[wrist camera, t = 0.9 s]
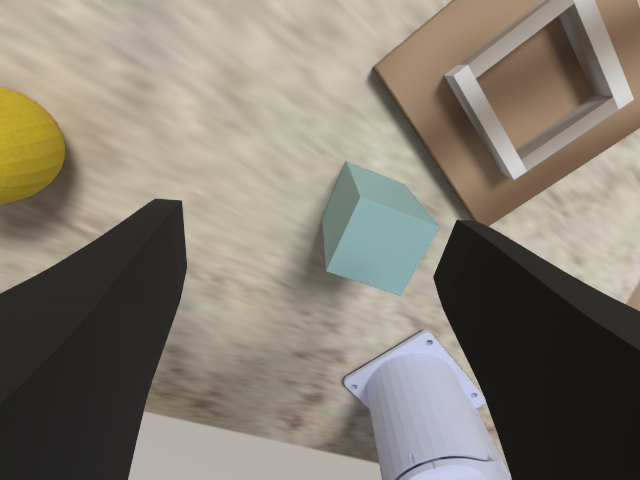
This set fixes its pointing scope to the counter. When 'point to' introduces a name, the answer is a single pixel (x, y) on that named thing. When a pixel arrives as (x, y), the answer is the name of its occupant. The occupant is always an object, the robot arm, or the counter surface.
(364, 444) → the counter surface
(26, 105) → the lemon
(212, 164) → the counter surface
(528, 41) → the socket
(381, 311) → the counter surface
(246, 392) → the counter surface
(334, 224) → the square peg
